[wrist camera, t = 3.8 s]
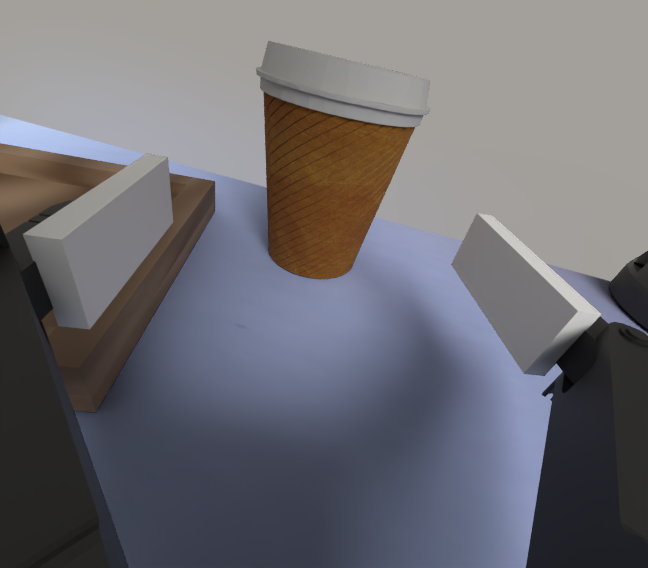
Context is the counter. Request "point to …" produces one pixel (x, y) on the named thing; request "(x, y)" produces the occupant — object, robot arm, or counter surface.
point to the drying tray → (139, 291)
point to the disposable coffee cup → (330, 152)
